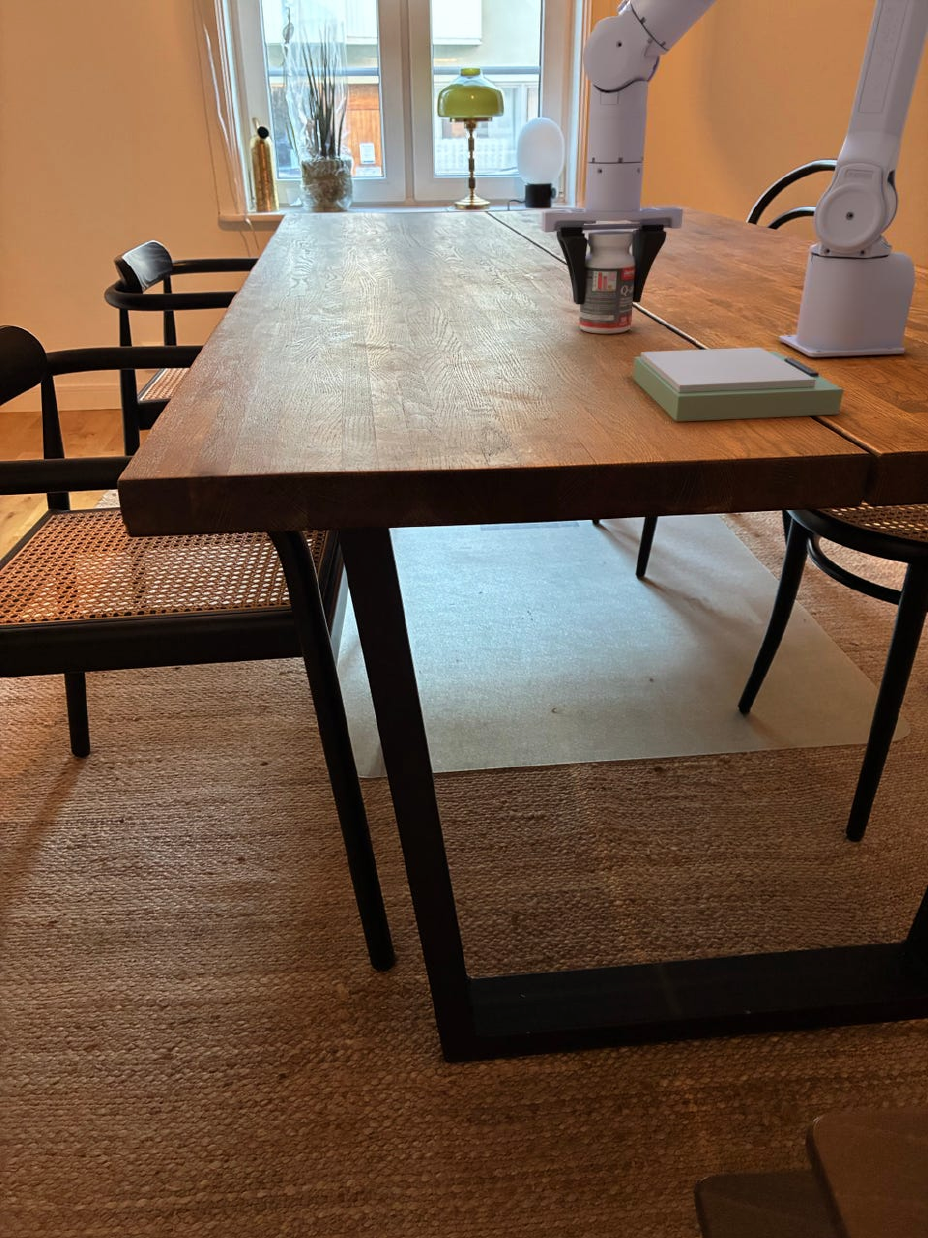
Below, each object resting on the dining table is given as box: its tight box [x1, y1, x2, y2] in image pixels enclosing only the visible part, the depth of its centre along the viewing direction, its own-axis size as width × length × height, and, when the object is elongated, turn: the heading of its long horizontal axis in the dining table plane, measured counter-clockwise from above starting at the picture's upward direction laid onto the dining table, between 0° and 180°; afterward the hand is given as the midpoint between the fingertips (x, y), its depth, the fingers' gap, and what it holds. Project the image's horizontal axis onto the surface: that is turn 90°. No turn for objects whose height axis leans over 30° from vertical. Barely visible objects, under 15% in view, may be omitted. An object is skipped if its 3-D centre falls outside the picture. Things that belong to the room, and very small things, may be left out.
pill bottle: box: [578, 229, 635, 335], centre depth 96 cm, size 6×6×10 cm
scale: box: [632, 347, 844, 423], centre depth 74 cm, size 13×13×3 cm
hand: (607, 301), depth 97 cm, fingers closed on pill bottle, 5 cm apart
